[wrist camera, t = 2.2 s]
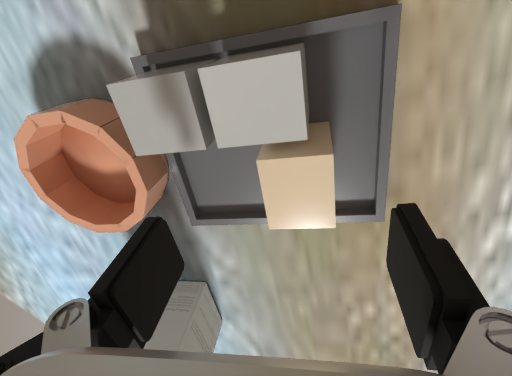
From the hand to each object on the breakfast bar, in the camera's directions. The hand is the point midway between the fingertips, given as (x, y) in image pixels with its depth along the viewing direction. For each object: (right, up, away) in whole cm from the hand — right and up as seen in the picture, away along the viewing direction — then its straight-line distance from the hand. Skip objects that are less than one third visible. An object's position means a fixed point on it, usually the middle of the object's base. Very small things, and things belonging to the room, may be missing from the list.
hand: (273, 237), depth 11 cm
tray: (0, +5, +7) cm, 9 cm away
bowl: (-12, +4, +11) cm, 17 cm away
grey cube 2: (-5, +8, +6) cm, 11 cm away
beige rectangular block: (+2, +4, +7) cm, 9 cm away
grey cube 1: (0, +8, +5) cm, 10 cm away
